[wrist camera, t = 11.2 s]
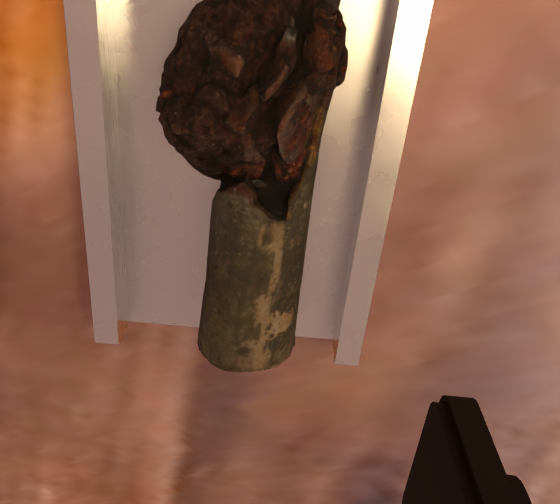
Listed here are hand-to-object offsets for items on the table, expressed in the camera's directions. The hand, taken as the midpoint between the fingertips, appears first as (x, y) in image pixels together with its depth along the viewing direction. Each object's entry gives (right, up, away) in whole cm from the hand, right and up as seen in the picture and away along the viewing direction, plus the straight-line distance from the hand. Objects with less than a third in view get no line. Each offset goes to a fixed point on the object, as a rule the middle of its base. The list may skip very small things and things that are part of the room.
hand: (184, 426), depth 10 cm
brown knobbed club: (+1, +8, +14) cm, 16 cm away
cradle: (0, +8, +15) cm, 17 cm away
